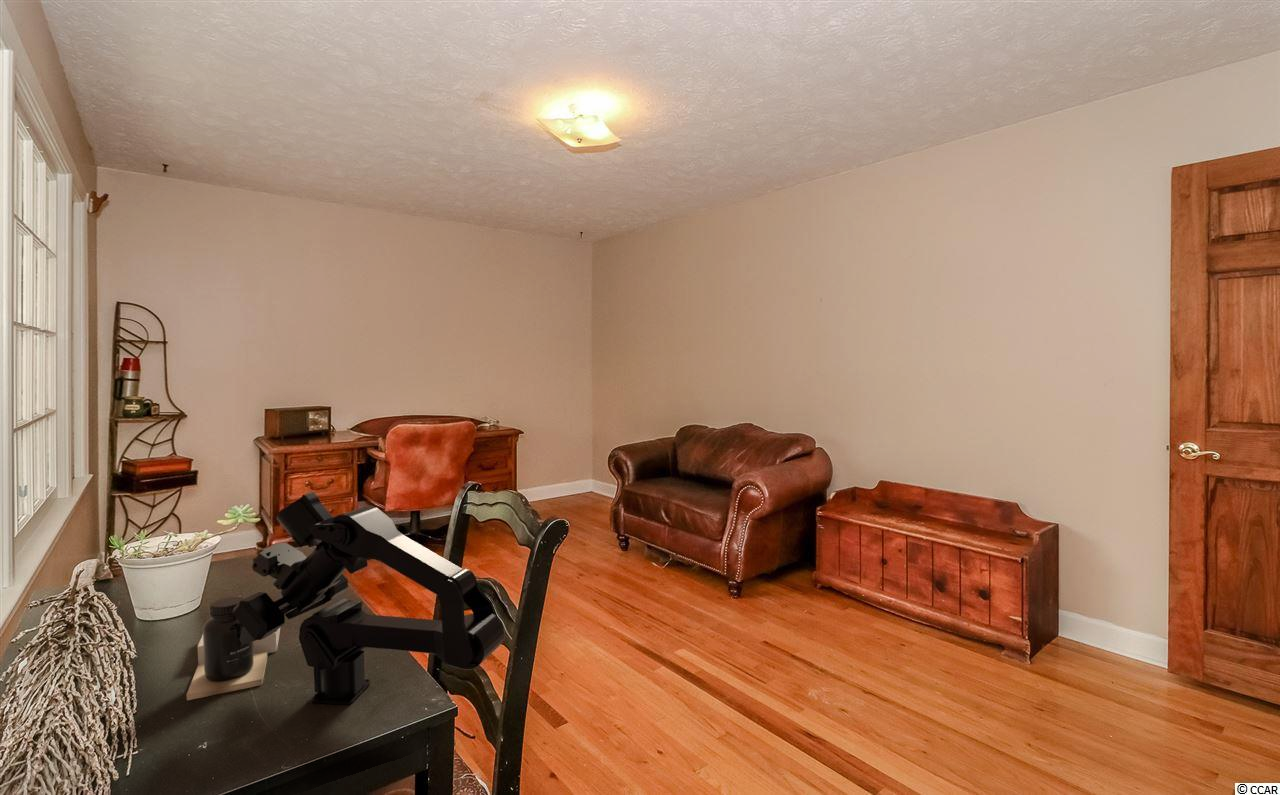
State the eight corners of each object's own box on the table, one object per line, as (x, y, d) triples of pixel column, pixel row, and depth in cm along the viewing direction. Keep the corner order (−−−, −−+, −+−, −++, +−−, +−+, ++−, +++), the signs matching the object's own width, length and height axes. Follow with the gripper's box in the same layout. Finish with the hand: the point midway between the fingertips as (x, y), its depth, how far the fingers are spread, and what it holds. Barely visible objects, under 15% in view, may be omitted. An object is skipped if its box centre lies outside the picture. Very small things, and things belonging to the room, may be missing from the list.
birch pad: (267, 657, 109) (267, 652, 109) (262, 684, 100) (261, 679, 100) (198, 670, 104) (198, 664, 104) (186, 700, 96) (186, 694, 96)
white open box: (280, 625, 121) (280, 608, 121) (276, 651, 111) (275, 632, 111) (209, 638, 116) (208, 620, 116) (198, 666, 106) (197, 646, 106)
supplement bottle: (241, 681, 99) (238, 609, 98) (195, 684, 98) (191, 611, 97) (262, 660, 106) (259, 592, 105) (219, 662, 105) (215, 594, 104)
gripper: (330, 514, 107) (278, 571, 110) (240, 548, 89) (181, 615, 92) (372, 562, 106) (319, 618, 109) (289, 606, 88) (228, 672, 91)
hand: (265, 628), depth 100 cm, fingers open, 9 cm apart
